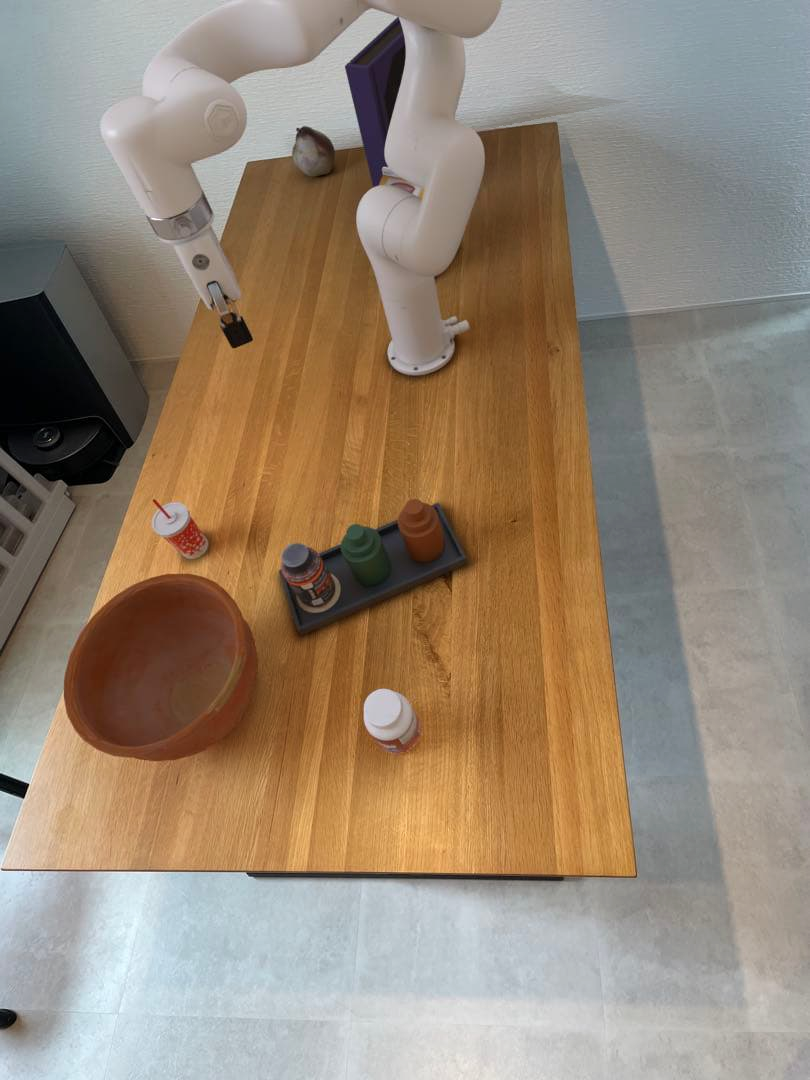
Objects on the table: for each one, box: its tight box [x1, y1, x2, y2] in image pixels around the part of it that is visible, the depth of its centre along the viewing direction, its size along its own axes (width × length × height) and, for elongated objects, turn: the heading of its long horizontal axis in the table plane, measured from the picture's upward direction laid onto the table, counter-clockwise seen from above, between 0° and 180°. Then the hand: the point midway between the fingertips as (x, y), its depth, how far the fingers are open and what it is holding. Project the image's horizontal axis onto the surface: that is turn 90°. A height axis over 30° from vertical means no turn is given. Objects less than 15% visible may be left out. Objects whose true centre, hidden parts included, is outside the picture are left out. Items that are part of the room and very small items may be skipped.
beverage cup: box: [151, 498, 209, 560], centre depth 108 cm, size 6×6×14 cm
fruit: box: [291, 125, 336, 178], centre depth 161 cm, size 10×9×12 cm
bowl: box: [63, 573, 259, 762], centre depth 93 cm, size 25×25×15 cm
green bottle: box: [340, 523, 391, 586], centre depth 100 cm, size 6×6×11 cm
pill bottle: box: [363, 688, 422, 755], centre depth 87 cm, size 6×6×11 cm
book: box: [344, 16, 406, 188], centre depth 143 cm, size 24×6×30 cm, turn 147°
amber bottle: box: [397, 498, 445, 563], centre depth 100 cm, size 6×6×11 cm
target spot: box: [296, 573, 341, 613], centre depth 104 cm, size 7×7×1 cm
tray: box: [278, 502, 469, 637], centre depth 104 cm, size 27×11×2 cm, turn 111°
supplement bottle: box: [280, 542, 335, 607], centre depth 100 cm, size 6×6×11 cm
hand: (235, 322), depth 97 cm, fingers open, 9 cm apart
